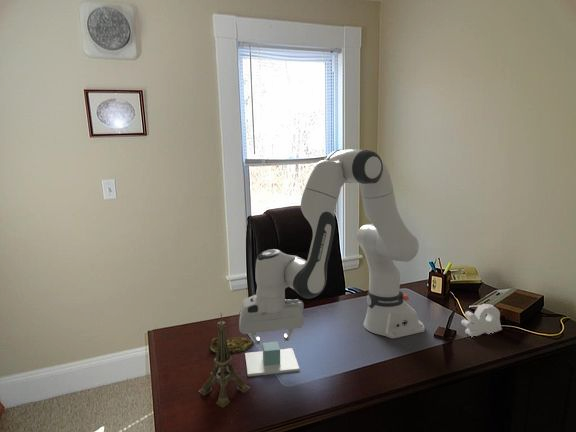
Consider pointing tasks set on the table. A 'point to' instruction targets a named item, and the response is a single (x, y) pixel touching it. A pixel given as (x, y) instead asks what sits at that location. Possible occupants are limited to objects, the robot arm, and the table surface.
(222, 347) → the eiffel tower
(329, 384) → the table surface
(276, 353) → the cube
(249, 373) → the board
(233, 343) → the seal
